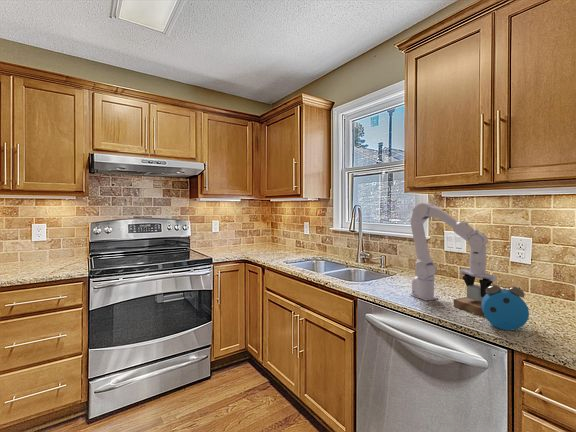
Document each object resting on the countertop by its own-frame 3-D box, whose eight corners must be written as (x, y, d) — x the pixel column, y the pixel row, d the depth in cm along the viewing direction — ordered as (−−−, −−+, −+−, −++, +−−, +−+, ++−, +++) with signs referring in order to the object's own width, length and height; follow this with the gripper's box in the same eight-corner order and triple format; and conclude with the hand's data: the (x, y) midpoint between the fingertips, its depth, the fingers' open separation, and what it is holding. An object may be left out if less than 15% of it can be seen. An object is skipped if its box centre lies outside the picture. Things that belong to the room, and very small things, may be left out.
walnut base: (453, 306, 132) (453, 299, 132) (472, 302, 137) (472, 295, 137) (481, 315, 121) (481, 308, 121) (500, 311, 126) (500, 304, 126)
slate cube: (466, 297, 130) (466, 285, 130) (474, 296, 132) (474, 284, 132) (478, 301, 126) (478, 288, 125) (486, 299, 128) (486, 287, 127)
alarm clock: (523, 327, 110) (525, 285, 109) (529, 334, 104) (530, 290, 103) (480, 321, 115) (481, 281, 114) (483, 328, 110) (484, 286, 109)
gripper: (455, 260, 133) (454, 291, 134) (488, 266, 120) (487, 301, 121) (466, 258, 136) (465, 289, 137) (500, 264, 123) (499, 298, 123)
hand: (477, 294), depth 129 cm, fingers closed on slate cube, 5 cm apart
